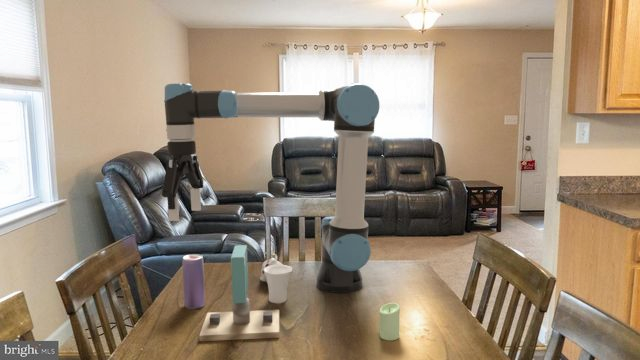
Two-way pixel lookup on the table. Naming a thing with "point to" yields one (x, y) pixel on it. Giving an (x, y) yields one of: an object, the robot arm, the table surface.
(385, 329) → the candle
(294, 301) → the table surface
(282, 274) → the cup
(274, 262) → the white ceramic figurine
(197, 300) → the beverage can
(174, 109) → the robot arm
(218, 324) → the post base
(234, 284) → the teal rectangular panel
